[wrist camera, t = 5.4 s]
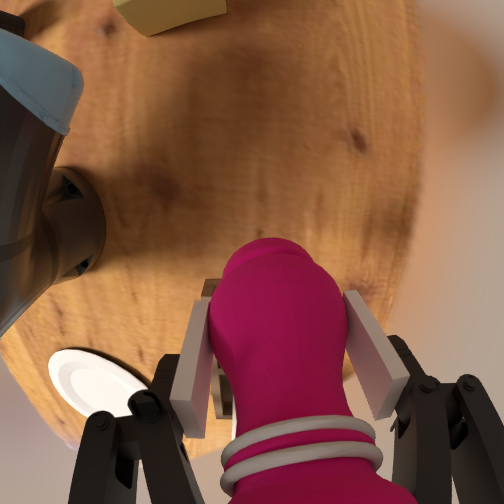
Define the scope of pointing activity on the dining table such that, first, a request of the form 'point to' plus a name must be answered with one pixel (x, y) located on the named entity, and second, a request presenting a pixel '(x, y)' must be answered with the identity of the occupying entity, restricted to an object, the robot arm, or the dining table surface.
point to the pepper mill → (290, 385)
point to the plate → (93, 382)
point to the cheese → (166, 13)
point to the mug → (12, 23)
